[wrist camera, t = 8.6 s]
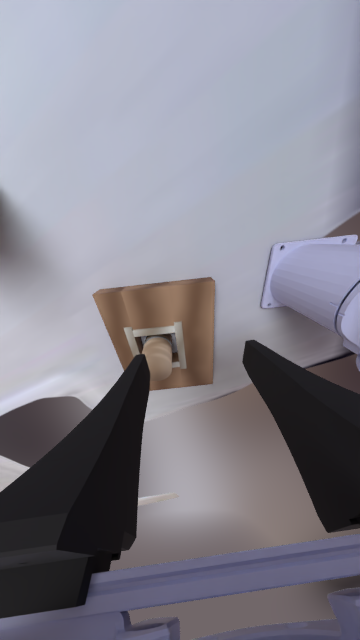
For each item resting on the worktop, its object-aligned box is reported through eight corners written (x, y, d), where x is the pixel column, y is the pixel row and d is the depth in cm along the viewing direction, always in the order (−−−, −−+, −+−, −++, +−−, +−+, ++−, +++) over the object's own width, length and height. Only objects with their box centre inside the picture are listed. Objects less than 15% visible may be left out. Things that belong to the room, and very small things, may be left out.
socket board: (210, 277, 18) (215, 281, 16) (209, 374, 27) (212, 384, 25) (100, 289, 18) (91, 295, 16) (135, 382, 27) (133, 393, 25)
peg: (171, 327, 21) (171, 356, 16) (172, 348, 23) (173, 380, 18) (144, 328, 21) (134, 357, 16) (147, 350, 23) (140, 382, 18)
